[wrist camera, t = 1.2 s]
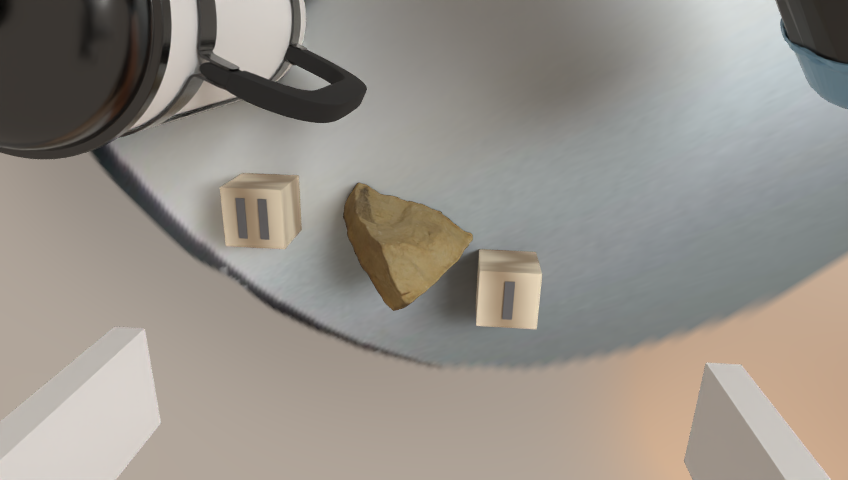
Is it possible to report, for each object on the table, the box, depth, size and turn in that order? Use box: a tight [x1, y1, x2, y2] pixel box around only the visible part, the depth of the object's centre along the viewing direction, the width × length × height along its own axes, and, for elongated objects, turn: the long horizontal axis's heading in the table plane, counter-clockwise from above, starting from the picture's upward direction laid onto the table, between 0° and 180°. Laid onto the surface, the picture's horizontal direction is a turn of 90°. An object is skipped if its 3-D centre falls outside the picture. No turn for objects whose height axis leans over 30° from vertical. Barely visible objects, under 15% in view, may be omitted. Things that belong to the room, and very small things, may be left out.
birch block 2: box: [476, 249, 542, 329], centre depth 49 cm, size 5×5×5 cm
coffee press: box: [0, 0, 367, 159], centre depth 32 cm, size 17×16×30 cm
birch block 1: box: [220, 173, 302, 249], centre depth 49 cm, size 5×5×5 cm
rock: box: [343, 183, 473, 311], centre depth 48 cm, size 11×9×10 cm
